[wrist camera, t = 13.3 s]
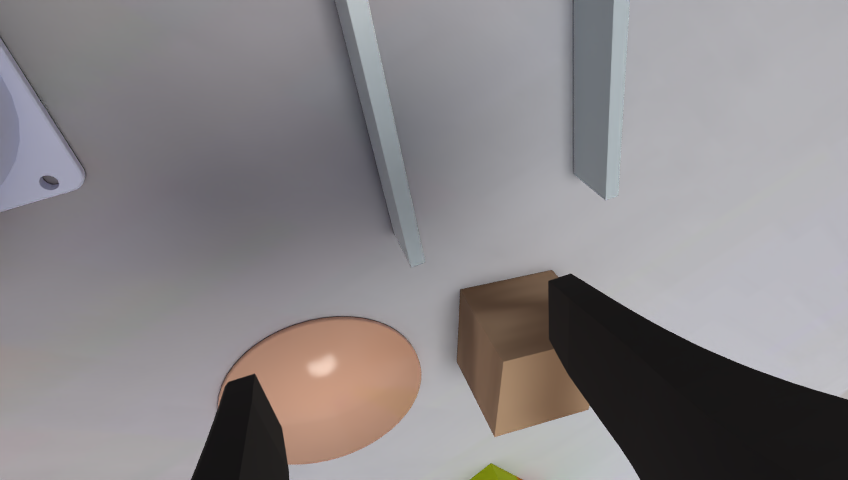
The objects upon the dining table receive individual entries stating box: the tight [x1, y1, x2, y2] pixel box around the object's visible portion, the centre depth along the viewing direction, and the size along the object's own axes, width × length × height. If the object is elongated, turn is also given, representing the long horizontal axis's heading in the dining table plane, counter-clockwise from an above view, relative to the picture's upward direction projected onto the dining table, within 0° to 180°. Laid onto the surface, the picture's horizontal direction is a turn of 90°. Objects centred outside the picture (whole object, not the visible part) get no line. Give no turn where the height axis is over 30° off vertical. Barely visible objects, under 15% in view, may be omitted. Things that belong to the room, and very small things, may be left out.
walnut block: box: [457, 270, 589, 437], centre depth 26 cm, size 5×5×5 cm
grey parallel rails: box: [335, 0, 630, 267], centre depth 20 cm, size 9×10×2 cm
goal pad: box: [218, 317, 421, 464], centre depth 27 cm, size 10×10×1 cm
